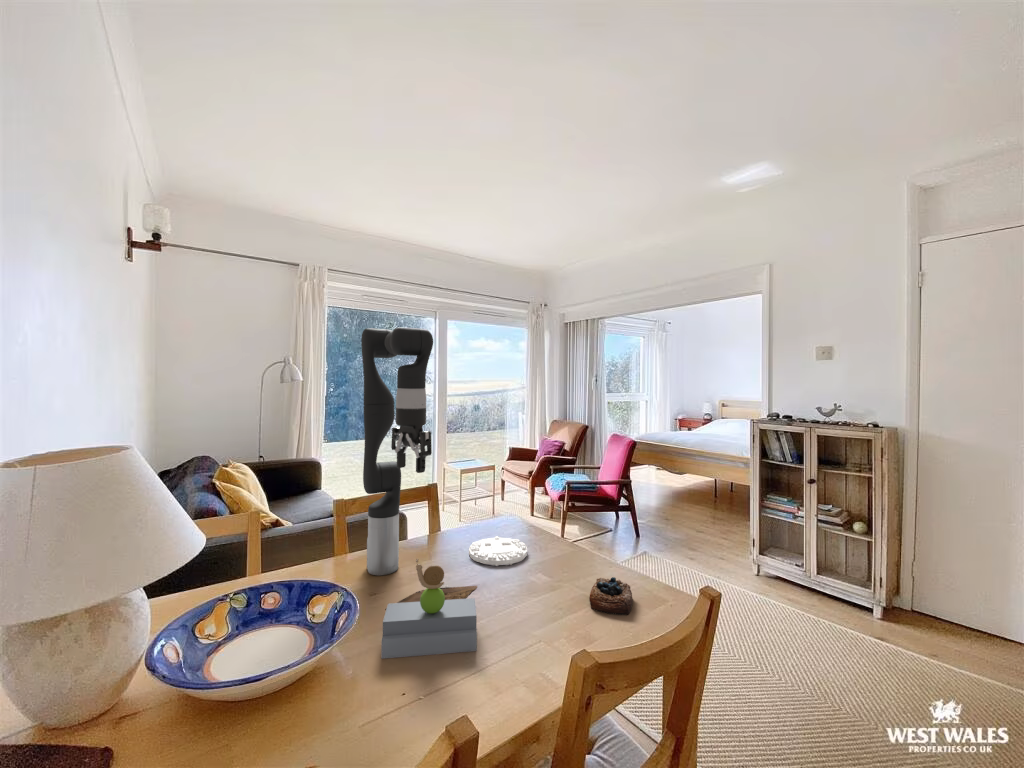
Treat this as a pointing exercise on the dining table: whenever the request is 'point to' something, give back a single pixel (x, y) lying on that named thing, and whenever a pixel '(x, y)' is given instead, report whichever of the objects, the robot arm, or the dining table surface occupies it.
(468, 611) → the grey stepped block
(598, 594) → the pastry
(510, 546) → the embossed medallion
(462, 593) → the wooden fragment
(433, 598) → the snail figurine
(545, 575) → the dining table surface
